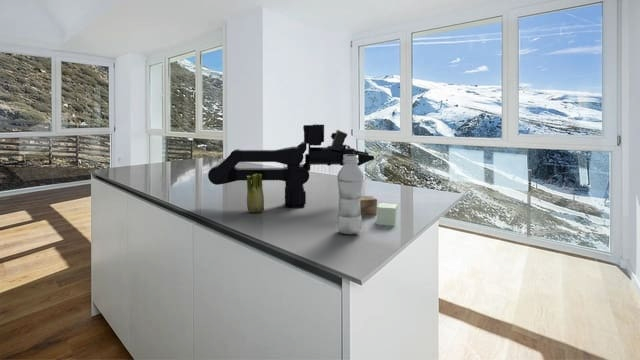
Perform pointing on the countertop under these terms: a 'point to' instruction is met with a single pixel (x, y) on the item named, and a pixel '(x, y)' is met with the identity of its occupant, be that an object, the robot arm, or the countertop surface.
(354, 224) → the plastic bottle
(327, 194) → the countertop surface
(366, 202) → the walnut block
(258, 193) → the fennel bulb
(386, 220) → the sage block
